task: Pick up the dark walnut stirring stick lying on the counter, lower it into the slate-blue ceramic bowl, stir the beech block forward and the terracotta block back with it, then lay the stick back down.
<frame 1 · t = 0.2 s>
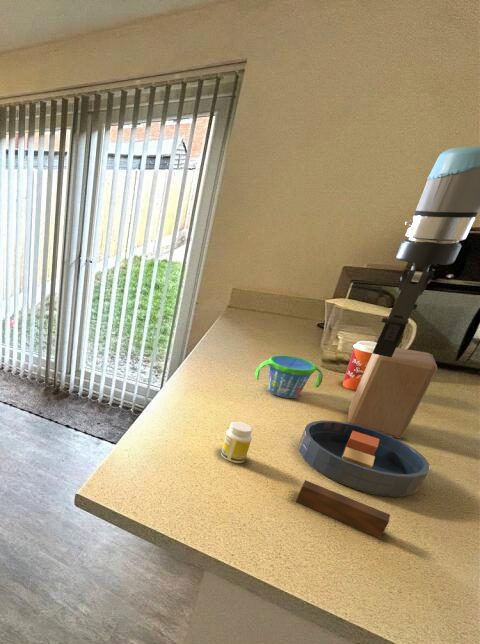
hand: (385, 346, 81), 27 cm above the countertop, tool pointing down, fingers open, 13 cm apart
supplement bottle: (232, 457, 90), on the countertop
snack cup: (281, 393, 117), on the countertop
block beech: (351, 473, 84), point 1 cm above the countertop, touching bowl
paper cup: (354, 387, 119), on the countertop
block terracotta: (357, 454, 89), point 1 cm above the countertop, touching bowl
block: (372, 425, 101), on the countertop
stick: (336, 515, 74), on the countertop
bowl: (353, 465, 87), on the countertop
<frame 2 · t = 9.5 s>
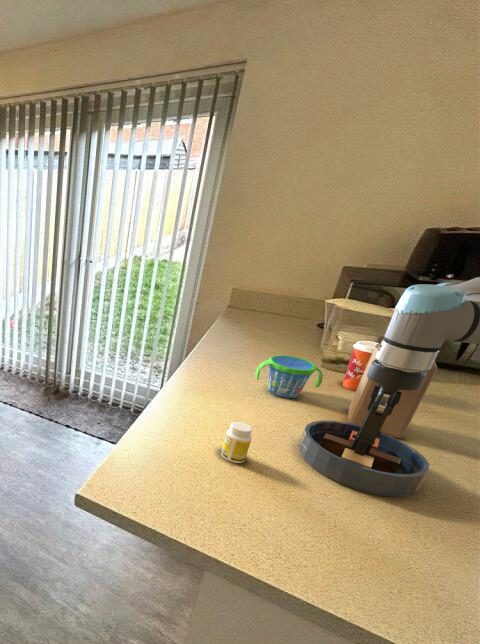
hand: (354, 461, 86), 2 cm above the countertop, tool pointing down, fingers closed on stick, 2 cm apart
block beech: (350, 474, 83), point 1 cm above the countertop, touching bowl, gripper
stick: (353, 462, 86), point 1 cm above the countertop, touching gripper
everything else where it was.
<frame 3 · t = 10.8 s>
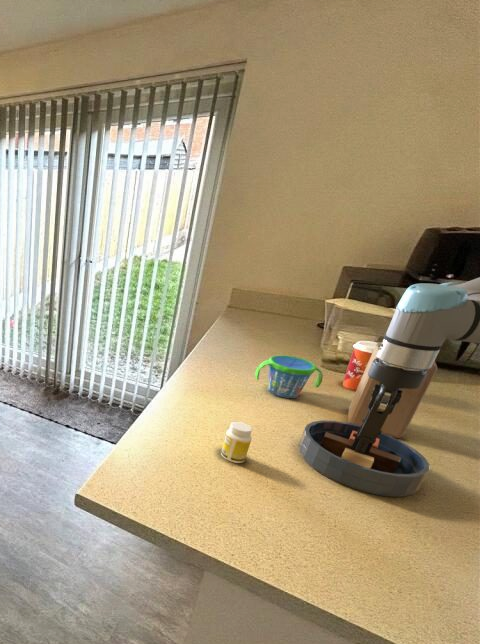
hand: (354, 459, 86), 2 cm above the countertop, tool pointing down, fingers closed on stick, 2 cm apart
block beech: (350, 473, 83), point 1 cm above the countertop, tilted 18°, touching bowl, gripper
block terracotta: (357, 454, 89), point 1 cm above the countertop, touching bowl, gripper
stick: (353, 461, 86), point 1 cm above the countertop, touching gripper
everything else where it was.
when the fingers open (0 cm above the countertop, at t = 17.8 s): stick stays where it is, on the countertop.
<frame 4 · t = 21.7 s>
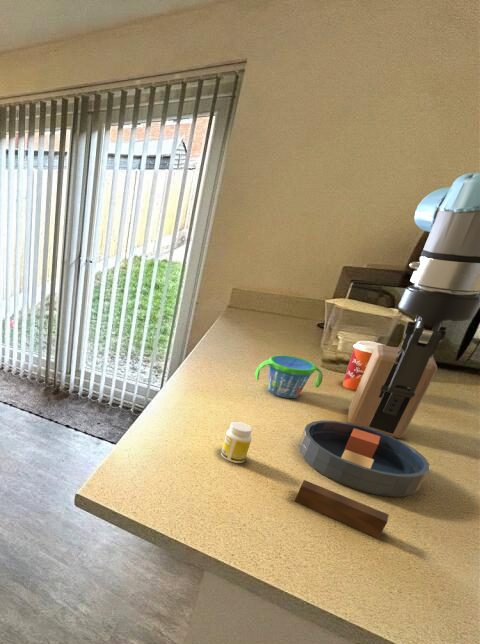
hand: (385, 413, 65), 23 cm above the countertop, tool pointing down, fingers open, 13 cm apart
block beech: (349, 475, 83), point 1 cm above the countertop, touching bowl
block terracotta: (358, 452, 90), point 1 cm above the countertop, touching bowl
stick: (335, 515, 74), on the countertop
everything else where it was.
at the end: block beech moved 1.4 cm from its start; block beech inside the target area in the bowl (5.9 cm from its centre), point 0.6 cm above the bowl's base; block terracotta inside the target area in the bowl (6.0 cm from its centre), point 0.6 cm above the bowl's base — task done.
